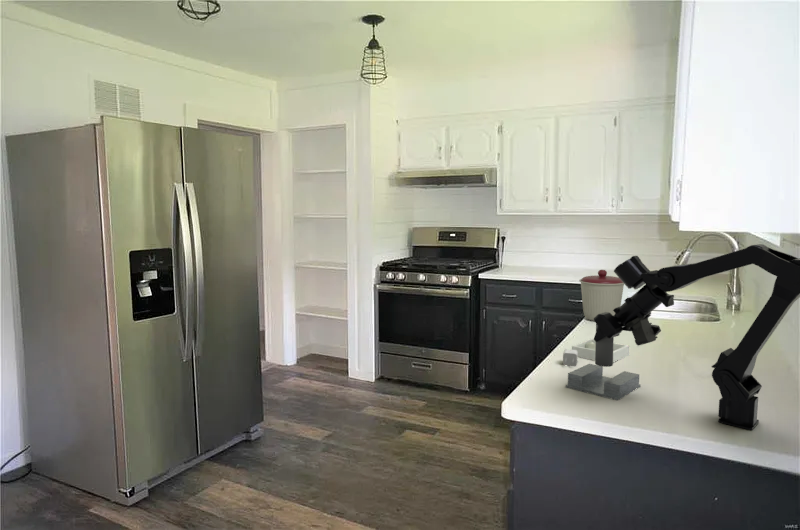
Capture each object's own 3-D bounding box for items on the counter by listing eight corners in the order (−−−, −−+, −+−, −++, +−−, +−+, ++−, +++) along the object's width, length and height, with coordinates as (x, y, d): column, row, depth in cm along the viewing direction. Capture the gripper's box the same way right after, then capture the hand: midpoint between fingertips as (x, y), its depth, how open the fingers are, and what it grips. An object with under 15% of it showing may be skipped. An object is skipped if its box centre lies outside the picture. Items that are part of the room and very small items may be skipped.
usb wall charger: (577, 362, 166) (577, 350, 166) (576, 369, 160) (576, 356, 159) (563, 361, 168) (564, 348, 167) (562, 368, 161) (562, 354, 161)
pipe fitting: (604, 353, 179) (584, 352, 178) (606, 341, 178) (585, 340, 178) (614, 360, 171) (593, 359, 170) (616, 348, 170) (594, 347, 170)
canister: (592, 313, 239) (594, 266, 237) (632, 320, 225) (634, 269, 223) (569, 319, 228) (570, 269, 226) (609, 326, 214) (611, 273, 212)
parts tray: (628, 355, 173) (629, 345, 173) (611, 363, 164) (611, 353, 164) (590, 348, 183) (590, 338, 182) (571, 355, 174) (571, 346, 173)
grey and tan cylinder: (616, 365, 142) (617, 316, 141) (603, 367, 141) (604, 318, 139) (604, 361, 146) (605, 313, 145) (591, 363, 145) (592, 315, 143)
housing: (640, 386, 144) (640, 373, 144) (617, 400, 134) (618, 386, 134) (590, 375, 154) (590, 362, 154) (565, 387, 144) (566, 374, 144)
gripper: (647, 336, 124) (601, 372, 134) (681, 323, 137) (636, 357, 146) (615, 298, 130) (573, 335, 139) (650, 289, 142) (609, 324, 151)
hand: (599, 338), depth 144 cm, fingers closed on grey and tan cylinder, 4 cm apart
